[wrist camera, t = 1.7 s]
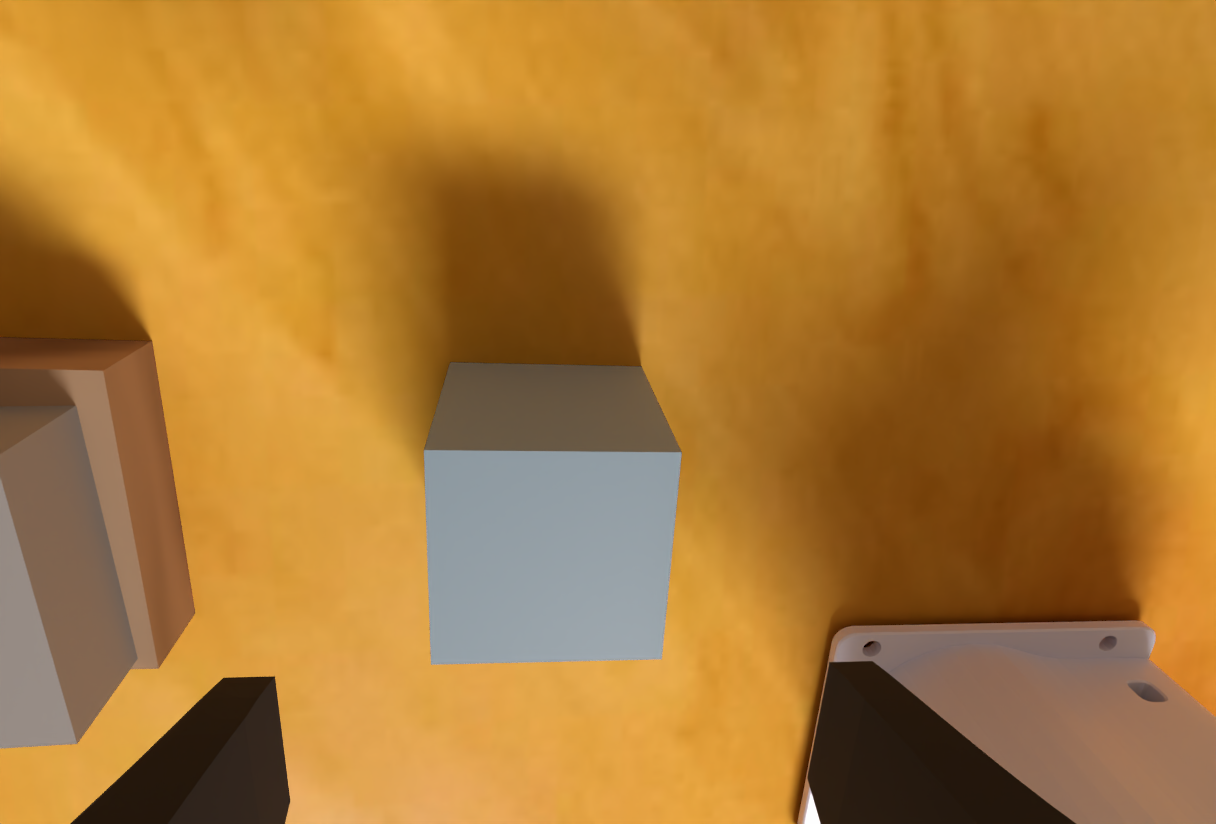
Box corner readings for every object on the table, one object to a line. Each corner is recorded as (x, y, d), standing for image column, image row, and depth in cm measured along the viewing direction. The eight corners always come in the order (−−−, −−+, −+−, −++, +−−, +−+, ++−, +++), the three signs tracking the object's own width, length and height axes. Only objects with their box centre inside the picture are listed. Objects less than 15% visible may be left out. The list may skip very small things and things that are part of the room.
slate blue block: (641, 365, 18) (682, 452, 13) (629, 530, 20) (661, 659, 15) (450, 361, 17) (424, 450, 13) (453, 531, 19) (431, 664, 14)
